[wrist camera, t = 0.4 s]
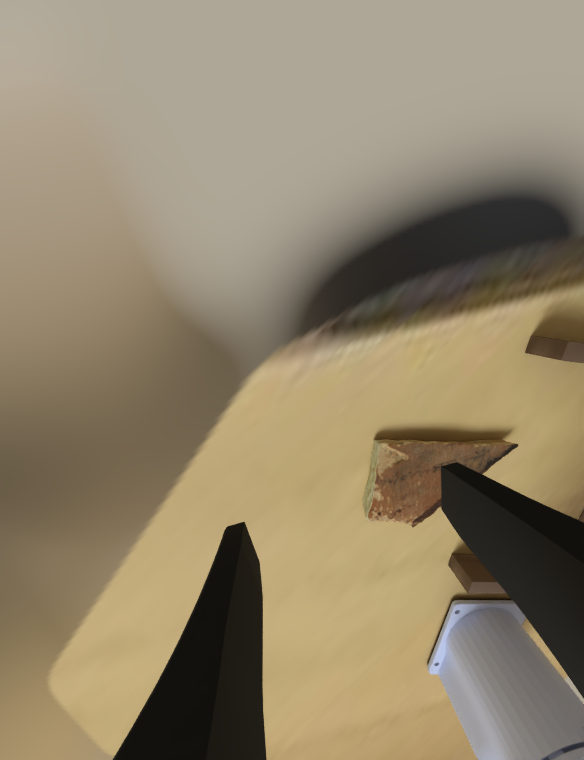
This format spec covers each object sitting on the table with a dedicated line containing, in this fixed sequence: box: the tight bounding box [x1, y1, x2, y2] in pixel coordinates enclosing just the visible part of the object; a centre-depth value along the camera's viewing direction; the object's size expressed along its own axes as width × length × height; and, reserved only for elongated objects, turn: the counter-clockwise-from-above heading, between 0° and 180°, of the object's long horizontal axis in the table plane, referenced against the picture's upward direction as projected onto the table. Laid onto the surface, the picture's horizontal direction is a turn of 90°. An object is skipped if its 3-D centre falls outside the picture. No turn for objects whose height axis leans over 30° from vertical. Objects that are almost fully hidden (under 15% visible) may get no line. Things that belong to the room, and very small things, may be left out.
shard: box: [363, 439, 518, 527], centre depth 22 cm, size 11×8×2 cm
